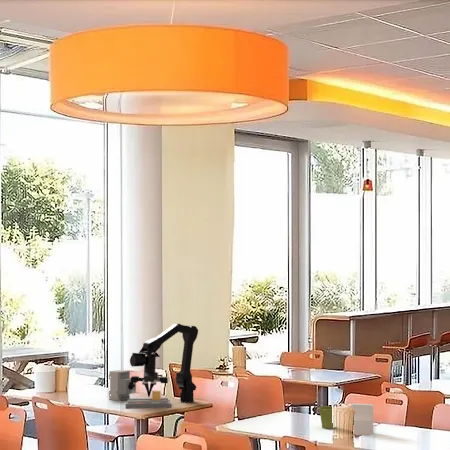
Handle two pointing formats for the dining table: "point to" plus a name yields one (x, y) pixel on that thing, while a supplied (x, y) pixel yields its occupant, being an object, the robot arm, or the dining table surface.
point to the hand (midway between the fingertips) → (148, 396)
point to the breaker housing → (147, 403)
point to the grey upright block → (363, 419)
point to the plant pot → (326, 417)
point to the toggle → (155, 395)
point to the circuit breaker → (120, 385)
